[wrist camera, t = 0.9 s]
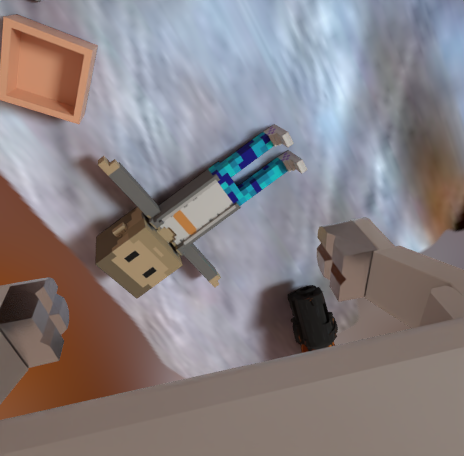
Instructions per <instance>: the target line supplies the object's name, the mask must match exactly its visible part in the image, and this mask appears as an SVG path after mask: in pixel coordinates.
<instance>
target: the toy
mask: <svg viewBox="0 0 464 456" xmlns="http://www.w3.org/2000/svg"><path fill="white" fill-rule="evenodd" d="M281 144H283V145H285V146H287V147H289V146H291V145H292V144H293V141H292V139H291V137H290V135H289V133H288V132H287V131H285V130H284V129H282V128H280V127H278V126H277V125H275V124H274V125H273V126H271V127H270V128H268V129H266V130H265V131H263V132H262V133H260V134H259V135H258V136H256V137H255V138H254V139H252V140H251V141H250V142H248V143H247V144H246V145H244V146H243V147H242V148H240V149H239V150H238V151H236V152H235V153H234V154H232V155H231V156H229V157H228V158H227V159H225V160H224V161H223V162H221V163H219V161H218V162H217V163H216V164H214V165H213V166H211V167H210V168H209V169H207V170H206V171H205V172H203V173H202V174H201V175H199V176H198V177H197V178H195V179H194V180H193V181H191V182H190V183H189V184H187V185H186V186H185V187H183V188H182V189H180V190H179V191H178V192H176V193H175V194H174V195H172V196H171V197H170V198H168V199H167V200H166V201H164V202H163V203H162V204H160V205H159V206H158V205H157V203H156V202H155V201H154V200H153V199H152V198H151V197H150V196H149V195H148V193H147V192H146V191H145V190H144V189H143V188H142V187H141V186H140V185H139V184H138V182H137V181H136V180H135V179H134V178H133V177H132V176H131V175H130V174H129V172H128V171H127V170H126V169H125V168H124V167H123V166H122V165H121V164H120V163H118V162H117V161H116V160H115V159H114V160H113V161H112V162H109V161H108V160H107V159H106V158H105V157H104V156H103V157H102V158H100V159H99V160H98V166H99V167H100V168H101V169H102V170H103V171H104V172H105V173H106V174H107V175H108V176H109V177H110V178H111V179H112V180H113V181H114V182H115V183H116V184H117V186H118V187H119V188H120V189H121V190H122V191H123V192H124V193H125V194H126V195H127V196H128V197H129V198H130V199H131V200H132V201H133V202H134V203H135V204H136V205H137V206H138V207H137V208H135V209H134V210H132V211H131V212H129V213H128V214H126V215H125V216H124V217H122V218H121V219H120V220H118V221H117V222H116V223H114V224H113V225H112V226H110V227H109V228H108V229H106V230H105V231H104V232H102V233H101V234H100V235H98V236H97V237H96V260H95V264H96V265H97V266H98V267H99V268H100V269H102V270H103V271H104V272H105V273H106V274H108V275H109V276H110V277H111V278H112V279H114V280H115V281H116V282H117V283H119V284H120V285H121V286H122V287H123V288H125V289H126V290H127V291H128V292H129V293H131V294H132V295H133V296H134V297H135V298H139V297H140V296H141V295H143V294H144V293H145V292H147V291H148V290H150V289H151V288H152V287H154V286H155V285H156V284H158V283H159V282H160V281H162V280H163V279H165V278H166V277H167V276H169V275H170V274H171V273H173V272H174V271H176V270H177V269H178V268H180V267H181V266H182V265H183V264H182V261H181V258H180V255H181V256H183V255H184V256H185V257H186V258H187V259H188V260H189V261H190V262H191V263H192V264H193V265H194V266H195V267H196V268H197V269H198V270H199V272H200V273H201V274H202V275H203V276H204V277H205V278H206V279H207V280H208V281H209V282H210V283H211V284H212V285H213V286H214V287H216V286H218V285H219V283H218V280H219V279H220V278H221V277H220V275H219V274H218V273H217V271H216V269H215V268H214V267H213V265H212V264H211V263H210V262H209V261H208V260H207V259H206V258H205V257H204V255H203V254H202V253H201V252H200V251H199V250H198V249H197V248H196V247H195V246H194V244H193V242H194V241H196V240H197V239H198V238H200V237H201V236H203V235H204V234H205V233H207V232H208V231H209V230H211V229H212V228H213V227H215V226H216V225H218V224H219V223H220V222H222V221H223V220H224V219H226V218H227V217H228V216H230V215H231V214H233V213H234V212H235V211H237V210H238V209H239V208H240V207H239V206H241V205H242V204H243V203H245V202H246V201H247V200H249V199H250V198H252V197H253V196H254V195H256V194H257V193H258V192H260V191H261V190H262V189H264V188H265V187H267V186H268V185H269V184H271V183H272V182H273V181H275V180H276V179H277V178H279V177H280V176H282V175H283V174H284V173H286V172H287V171H289V172H290V171H291V170H293V171H294V170H295V169H297V170H298V171H299V172H301V173H303V172H305V171H306V170H307V168H306V166H305V164H304V162H303V160H302V159H301V158H299V157H298V156H296V155H295V154H293V153H292V152H290V151H289V150H288V151H286V152H285V153H283V154H282V155H280V156H279V157H277V158H275V159H274V160H273V161H271V162H270V163H269V164H267V165H266V166H265V167H263V168H262V169H261V170H259V171H258V172H256V173H255V174H254V175H252V176H251V177H250V178H248V179H247V180H246V181H244V182H243V183H242V184H240V185H239V186H236V184H235V183H234V182H233V180H232V179H231V177H232V176H234V175H235V174H236V173H238V172H239V171H241V170H242V169H243V168H245V167H246V166H247V165H249V164H250V163H251V162H253V161H254V160H255V159H257V158H258V157H260V156H261V155H262V154H264V153H265V152H266V151H268V150H269V149H270V148H272V147H273V146H275V147H276V146H277V145H279V146H280V145H281ZM179 254H180V255H179Z"/></svg>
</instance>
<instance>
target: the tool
mask: <svg viewBox="0 0 464 456" xmlns="http://www.w3.org/2000/svg"><path fill="white" fill-rule="evenodd" d="M288 300H289V302H290V307H291V309H292V313H293V316H294V317H293V319H291V322H293V331H294V335H295V339H296V342H297V343H299V344H302V345H301V350H302V353H304V352H309V351H313V350H318V349H322V348H327V347H331V346H335V344H334V340H335V338H336V337H337V335H336V333H337V330H338V327H337V324H336V321H335V318H334V317H333V316H332V315H333V314H332V312H328V310H327V307H326V303H325V299H324V296H323V293H322V291H321V289H320V288H319V287H317V288H316V286H313V285H311V286H306V287H303V288H301V289H298V290H297V291H296V292H294V293H291V294H288Z"/></svg>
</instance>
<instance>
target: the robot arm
mask: <svg viewBox="0 0 464 456" xmlns="http://www.w3.org/2000/svg"><path fill="white" fill-rule="evenodd" d="M318 239H319V240H320V242H321V244H320V245H319V246H318V248H317V261H318V266H319V268H320V271H321V273H322V275H323V276H324V277H325V278H327V279H329V280H330V285H329V287H330V288H331V290H332V292H333V293H334V295H335V297H336V298H337V300H338V302H340V301H345V300H351V299H356V298H361V297H365V298H366V299H367V300H369V301H370V302H372V303H373V304H375V305H377V306H378V307H379V308H381V309H383V310H384V311H386V312H387V313H389V314H390V315H392V316H393V317H395V318H397V319H398V320H400V321H401V322H403V323H404V324H406V325H407V326H409V327H410V328H412V329H407V330H403V331H399V332H394V333H389V334H385V335H380V336H376V337H372V338H367V339H362V340H358V341H354V342H349V343H345V344H340V345H336V346H331V347H327V348H322V349H318V350H313V351H309V352H304V353H300V354H295V355H291V356H286V357H282V358H277V359H273V360H268V361H264V362H259V363H255V364H250V365H246V366H241V367H237V368H232V369H228V370H223V371H219V372H214V373H210V374H205V375H201V376H196V377H192V378H187V379H183V380H178V381H174V382H170V383H165V384H161V385H156V386H152V387H147V388H143V389H139V390H134V391H130V392H125V393H120V394H116V395H111V396H107V397H102V398H98V399H93V400H89V401H85V402H80V403H75V404H71V405H67V406H62V407H57V408H53V409H49V410H45V411H40V412H35V413H31V414H26V415H22V416H17V417H13V418H9V419H4V420H0V456H464V270H462V269H460V268H457V267H454V266H452V265H449V264H446V263H444V262H441V261H439V260H436V259H433V258H431V257H428V256H425V255H423V254H420V253H417V252H415V251H412V250H410V249H407V248H404V247H402V246H396V247H395V246H394V245H393V244H392V243H391V242H390V241H389V240H388V238H387V237H386V236H385V235H384V234H383V233H382V232H381V231H380V230H379V229H378V228H377V227H376V226H375V225H374V224H373V223H372V221H371V220H370V219H369V218H366V217H363V218H359V219H354V220H350V221H347V222H342V223H336V224H331V225H326V226H321V227H319V230H318ZM57 288H58V286H57V285H56V283H55V281H54V280H53V279H52V278H44V279H37V280H31V281H25V282H19V283H14V284H8V285H3V286H0V404H1V403H2V402H3V400H4V399H5V398H6V397H7V395H8V394H9V393H10V392H11V390H12V389H13V388H14V387H15V385H16V384H17V383H18V382H19V380H20V379H21V378H22V377H23V376H24V374H25V373H26V372H27V371H28V368H30V367H34V366H38V365H42V364H47V363H51V362H55V361H59V359H60V355H61V351H62V347H63V343H64V340H63V338H62V337H61V335H62V333H63V332H64V331H65V330H66V329H67V327H68V323H69V310H68V307H67V303H66V302H65V299H64V298H63V297H61V296H59V295H58V294H56V292H57Z"/></svg>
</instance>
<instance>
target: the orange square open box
mask: <svg viewBox="0 0 464 456" xmlns="http://www.w3.org/2000/svg"><path fill="white" fill-rule="evenodd" d="M97 47H98V45H95V44H92V43H90V42H87V41H85V40H82V39H80V38H77V37H74V36H72V35H69V34H67V33H64V32H62V31H59V30H56V29H54V28H51V27H49V26H46V25H43V24H41V23H38V22H36V21H33V20H31V19H28V18H25V17H23V16H20V15H18V14H16V15H10V16H4V18H3V32H2V46H1V61H0V100H2V101H5V102H8V103H11V104H15V105H18V106H21V107H24V108H28V109H31V110H34V111H37V112H41V113H44V114H47V115H50V116H54V117H57V118H60V119H64V120H67V121H70V122H73V123H77V124H80V122H81V120H82V118H83V116H84V115H85V110H86V105H87V100H88V94H89V89H90V84H91V79H92V73H93V68H94V63H95V58H96V52H97Z"/></svg>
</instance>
